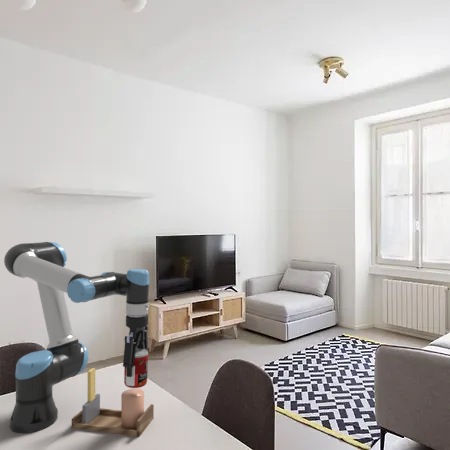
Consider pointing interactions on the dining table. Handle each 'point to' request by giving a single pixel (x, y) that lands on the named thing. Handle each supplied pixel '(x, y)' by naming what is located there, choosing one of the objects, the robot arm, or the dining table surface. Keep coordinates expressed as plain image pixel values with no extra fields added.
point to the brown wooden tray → (114, 422)
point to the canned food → (139, 368)
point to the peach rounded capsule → (131, 408)
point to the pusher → (91, 400)
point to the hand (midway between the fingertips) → (135, 380)
